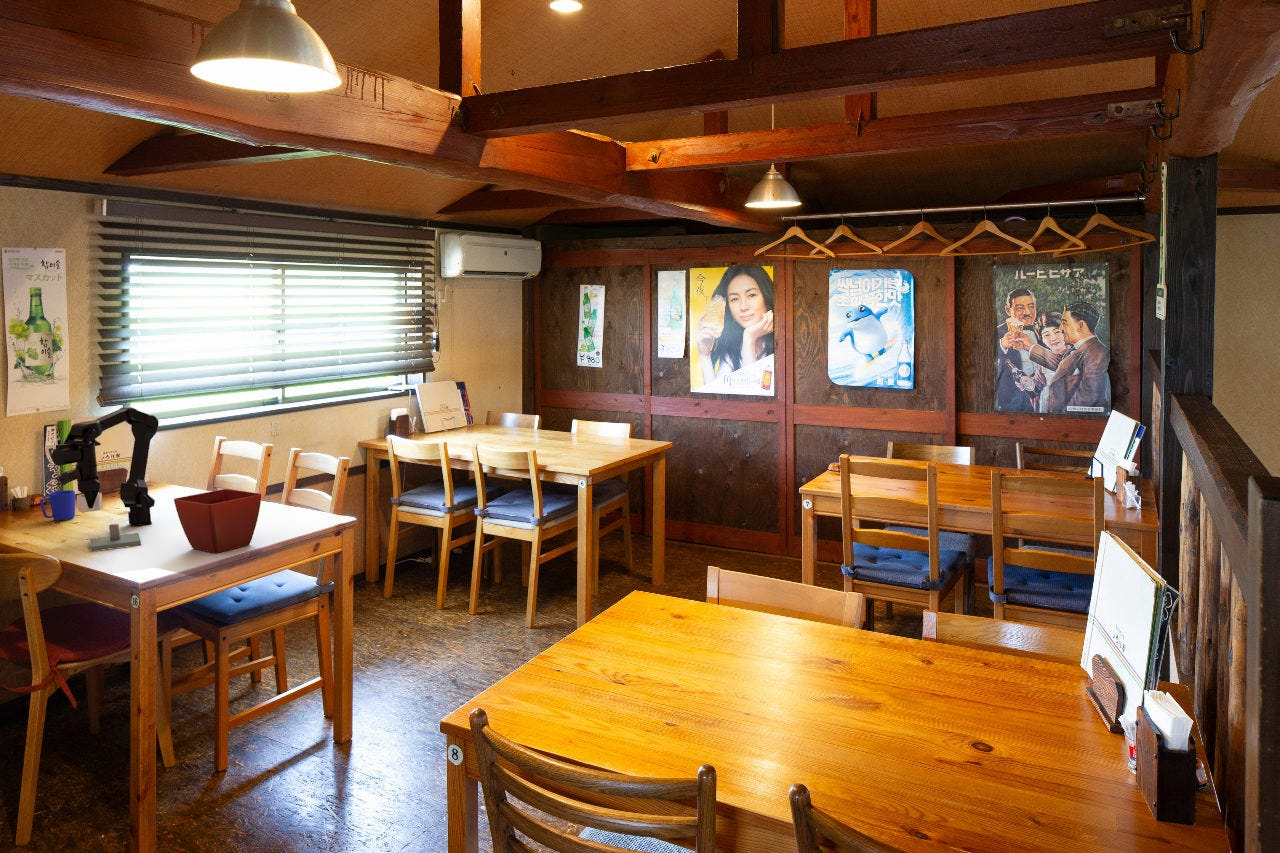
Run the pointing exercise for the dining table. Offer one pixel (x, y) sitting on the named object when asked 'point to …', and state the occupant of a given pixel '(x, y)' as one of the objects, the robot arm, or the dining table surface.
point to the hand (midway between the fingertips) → (90, 506)
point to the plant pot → (219, 519)
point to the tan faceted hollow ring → (84, 507)
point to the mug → (60, 505)
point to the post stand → (115, 539)
